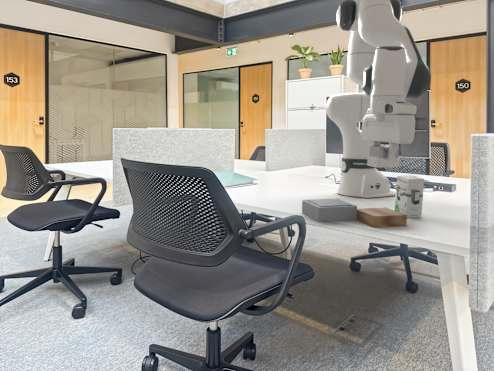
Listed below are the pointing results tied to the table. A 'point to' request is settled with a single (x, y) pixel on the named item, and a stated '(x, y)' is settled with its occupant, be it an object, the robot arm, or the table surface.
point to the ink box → (409, 195)
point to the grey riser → (329, 210)
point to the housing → (382, 157)
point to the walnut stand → (381, 217)
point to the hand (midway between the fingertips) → (383, 158)
